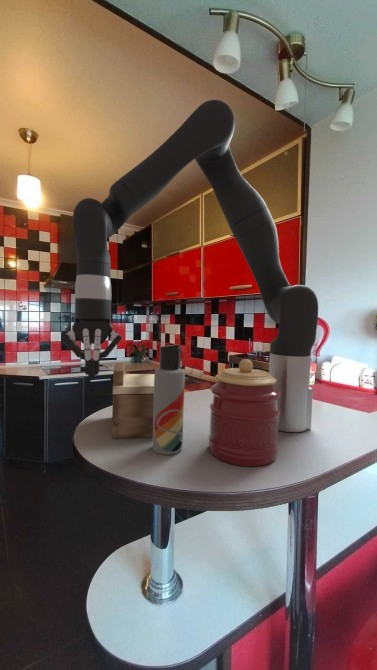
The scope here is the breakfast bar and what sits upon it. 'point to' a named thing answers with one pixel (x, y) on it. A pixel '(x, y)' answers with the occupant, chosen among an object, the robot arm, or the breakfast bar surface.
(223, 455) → the canister
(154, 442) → the lotion bottle
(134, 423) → the wooden box
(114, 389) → the lid
